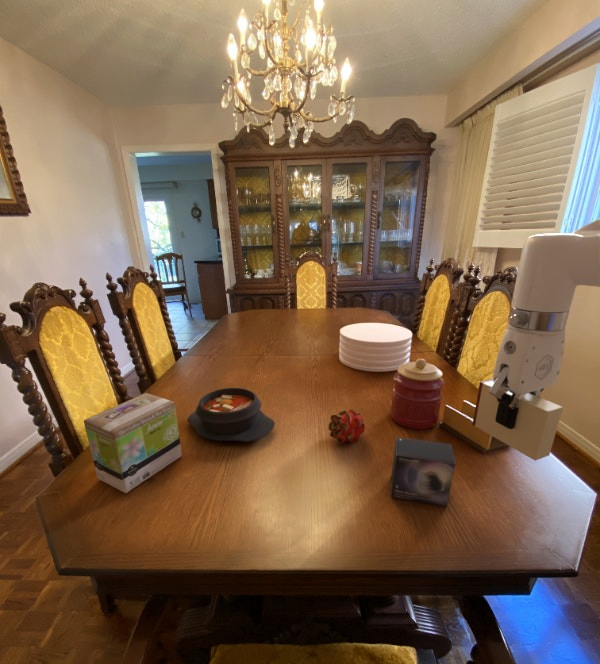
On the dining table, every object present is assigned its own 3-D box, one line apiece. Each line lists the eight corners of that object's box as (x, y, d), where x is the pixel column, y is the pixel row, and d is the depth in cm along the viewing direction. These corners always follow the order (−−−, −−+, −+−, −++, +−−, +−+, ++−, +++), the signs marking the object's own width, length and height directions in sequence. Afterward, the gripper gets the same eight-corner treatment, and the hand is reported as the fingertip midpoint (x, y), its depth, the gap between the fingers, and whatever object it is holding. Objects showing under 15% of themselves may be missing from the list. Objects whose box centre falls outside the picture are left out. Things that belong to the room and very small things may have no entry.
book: (485, 420, 68) (494, 378, 64) (549, 455, 57) (563, 406, 54) (472, 424, 66) (479, 382, 63) (535, 461, 56) (548, 411, 52)
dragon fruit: (331, 455, 84) (352, 438, 93) (359, 445, 79) (379, 429, 89) (315, 423, 85) (338, 410, 94) (342, 411, 80) (364, 398, 89)
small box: (390, 499, 68) (395, 455, 64) (390, 478, 74) (394, 435, 70) (448, 509, 65) (456, 463, 61) (443, 485, 71) (451, 442, 67)
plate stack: (402, 348, 153) (405, 323, 149) (415, 372, 127) (419, 342, 123) (339, 347, 156) (339, 322, 152) (339, 370, 130) (339, 341, 126)
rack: (464, 418, 96) (467, 399, 94) (510, 445, 84) (515, 424, 82) (439, 425, 93) (442, 405, 91) (482, 454, 81) (487, 432, 79)
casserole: (288, 422, 95) (287, 395, 92) (246, 459, 80) (244, 428, 77) (219, 402, 107) (216, 377, 104) (171, 431, 92) (166, 403, 89)
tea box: (127, 495, 69) (111, 432, 64) (97, 479, 74) (80, 419, 69) (184, 455, 82) (175, 399, 76) (155, 444, 86) (144, 390, 81)
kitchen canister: (425, 436, 88) (434, 372, 82) (381, 418, 97) (386, 359, 90) (446, 417, 97) (456, 358, 90) (403, 402, 105) (410, 347, 99)
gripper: (522, 332, 47) (497, 445, 54) (596, 318, 53) (566, 421, 60) (476, 320, 54) (460, 423, 61) (547, 309, 60) (525, 403, 66)
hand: (513, 421), depth 60 cm, fingers closed on book, 3 cm apart
